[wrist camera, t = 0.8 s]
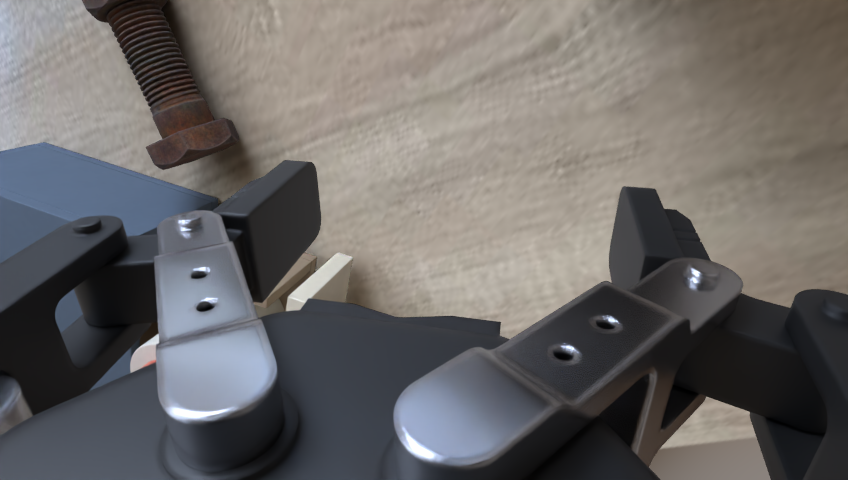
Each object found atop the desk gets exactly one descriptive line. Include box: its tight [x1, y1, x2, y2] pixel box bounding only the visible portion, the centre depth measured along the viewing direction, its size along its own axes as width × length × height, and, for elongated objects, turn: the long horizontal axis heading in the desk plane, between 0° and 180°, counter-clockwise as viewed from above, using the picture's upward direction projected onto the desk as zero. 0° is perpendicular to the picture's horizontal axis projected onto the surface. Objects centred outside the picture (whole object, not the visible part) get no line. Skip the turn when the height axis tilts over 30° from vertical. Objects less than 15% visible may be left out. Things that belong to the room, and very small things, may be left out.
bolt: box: [82, 0, 239, 170], centre depth 34 cm, size 6×5×15 cm
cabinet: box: [0, 142, 218, 391], centre depth 40 cm, size 16×14×9 cm
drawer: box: [140, 253, 353, 346], centre depth 37 cm, size 19×12×7 cm, turn 78°
